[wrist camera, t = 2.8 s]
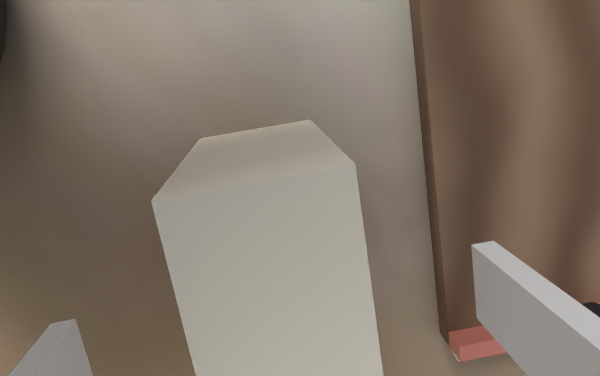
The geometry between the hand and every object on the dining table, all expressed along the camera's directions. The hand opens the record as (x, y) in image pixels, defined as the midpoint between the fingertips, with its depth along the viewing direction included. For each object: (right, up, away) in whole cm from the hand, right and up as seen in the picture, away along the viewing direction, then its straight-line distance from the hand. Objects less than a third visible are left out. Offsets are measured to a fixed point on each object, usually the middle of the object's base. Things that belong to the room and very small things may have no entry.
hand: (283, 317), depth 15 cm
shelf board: (+16, +6, +12) cm, 20 cm away
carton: (-1, +3, +11) cm, 11 cm away
